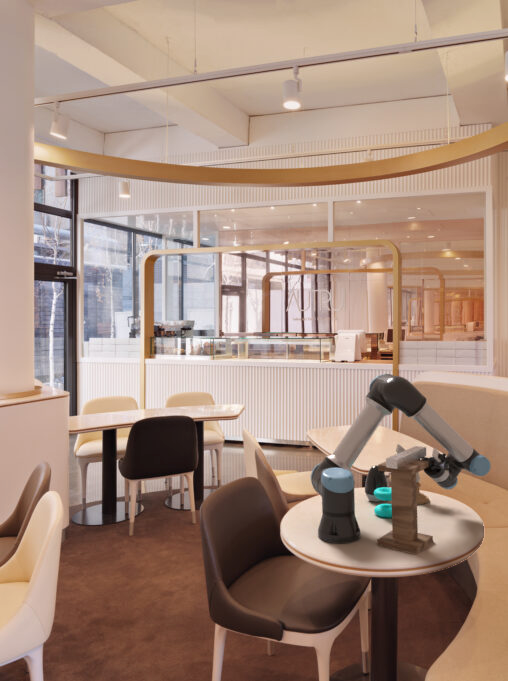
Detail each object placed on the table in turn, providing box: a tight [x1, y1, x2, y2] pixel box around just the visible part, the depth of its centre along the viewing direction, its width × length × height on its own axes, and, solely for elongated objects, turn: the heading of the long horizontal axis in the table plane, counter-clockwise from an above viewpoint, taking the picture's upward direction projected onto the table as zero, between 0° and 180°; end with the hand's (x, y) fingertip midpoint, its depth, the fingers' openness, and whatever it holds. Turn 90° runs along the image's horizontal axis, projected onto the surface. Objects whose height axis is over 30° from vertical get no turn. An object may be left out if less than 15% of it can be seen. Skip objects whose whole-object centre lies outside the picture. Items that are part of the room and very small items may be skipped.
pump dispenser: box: [364, 464, 388, 503], centre depth 249 cm, size 10×10×15 cm
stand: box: [376, 459, 434, 555], centre depth 198 cm, size 14×14×28 cm
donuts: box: [373, 487, 392, 519], centre depth 229 cm, size 10×10×10 cm
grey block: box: [385, 445, 427, 469], centre depth 200 cm, size 24×4×3 cm, turn 141°
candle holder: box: [416, 456, 430, 505], centre depth 247 cm, size 12×12×20 cm
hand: (415, 449), depth 205 cm, fingers open, 13 cm apart
